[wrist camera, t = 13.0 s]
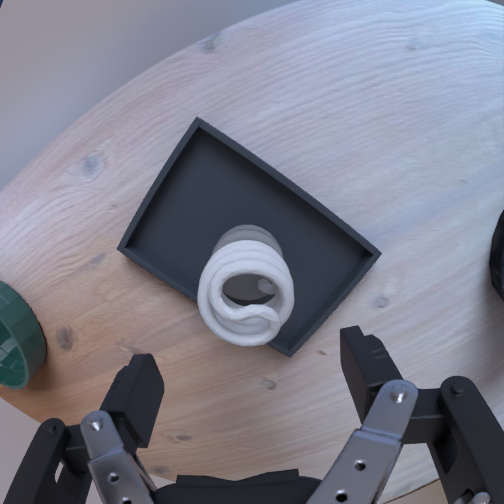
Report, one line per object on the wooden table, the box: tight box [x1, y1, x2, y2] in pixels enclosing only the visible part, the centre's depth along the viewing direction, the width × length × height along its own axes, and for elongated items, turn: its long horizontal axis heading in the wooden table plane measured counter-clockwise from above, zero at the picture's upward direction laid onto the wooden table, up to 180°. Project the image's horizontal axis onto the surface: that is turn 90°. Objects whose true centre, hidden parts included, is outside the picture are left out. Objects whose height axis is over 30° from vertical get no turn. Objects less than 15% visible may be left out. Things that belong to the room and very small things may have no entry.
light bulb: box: [197, 225, 294, 347], centre depth 21 cm, size 6×6×12 cm
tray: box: [117, 117, 382, 357], centre depth 27 cm, size 19×13×2 cm
